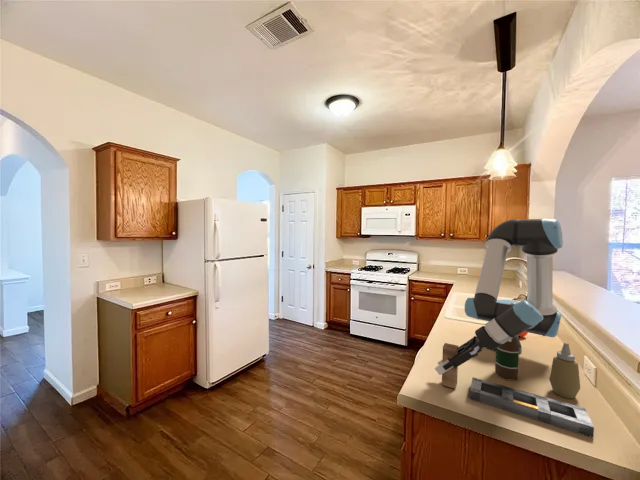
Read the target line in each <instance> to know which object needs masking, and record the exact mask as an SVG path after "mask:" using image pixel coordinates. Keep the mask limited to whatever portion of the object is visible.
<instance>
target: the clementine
mask: <svg viewBox="0 0 640 480" xmlns="http://www.w3.org/2000/svg"><path fill="white" fill-rule="evenodd" d="M528 333H529V332H522V333H521V334H519V335H518V337H519V336H520V338H524V337H526V336H527V335H528Z"/></svg>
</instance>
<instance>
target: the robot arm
mask: <svg viewBox="0 0 640 480" xmlns="http://www.w3.org/2000/svg"><path fill="white" fill-rule="evenodd" d="M561 227H562V226H561V223H560V222H559V220H557V219H556V218H555V219H554V218H553V219H552V218H527V219H526V218H525V219H522V218H521V219H518V218H512V219H509V220H505V221H503V222H501V223H500V224H498V225H497V226H496V227H494V228H493V229H492V230H491V231H490V232H489V234H488V236H487V238H486V240H485V244H484V246H485V248H486V251H485V255H484V258H483V263H482V266H481V270H480V274H479V277H478V281H477V284H476V289H475V293H474V297H467V299H466V300H465V302H464V313H465V315H466V317H469V318H473V319H476V320H481V321H484V322H485V321H487V322H486V323H485V324H484V325H482V326H480V327H479V328H477V329H475V331H474V334H475V335H474V336H473V337H471V339H469V340H467V341H465V342H464V343H463V344H461V345H459V346H458V354H457V355H455V356H454V357H453V358H451V359H449V357H448V358H447V359H448V360H446V361H445V362H443V363H442V359H440V360H439V361H437V366H435V367H434V370H435V371H436V373H437V374H438V375H439V376H442V374H443V373H444V372H446V371H448V370H449V369H451V368H453V367H454V368H457V367H458V368H459V367H460V366H462V365H463V364H465V363H466V362H468V361H470V360H471V359H473V358H474V357H475V358H476V357H478V355H479V353H481V352H482V351H483V348H486V349H487V350H488V351H490V352H491V351H495V352H496V348H498V347H499V346H500V344H504V343H505V342H507V341H509V342H511V341H512V340H511V339H512V338H514V337H515V338H516V339H517V341H518V344H519V355H520V354H522V351H523V349H522V344H521V340H520V338H519V336H518V335H519V334H521V333H522V332H528V333H530V334H535V335H539V336H542V337H548V338H555V337H557V335H558V333H559V328H560V323H561V319H562V312H561V311H559V310H558V309H557V306H556V305H555V304H553V281H554V280H553V276H554V275H553V271H554V268H553V266H554V265H553V263H554V261H553V259H554V257H553V256H554V255H555V254H557V253H558V251H559V249H562V248H563V243H564V242H563V231H562V228H561ZM512 247H518V248H519V247H520V248H521V252H522V253H523V254H525V255H526V286H527V287H526V292H527V299H523V300H520V301H517V300H511V299H498V298H499V292H500V288H501V283H502V280H503V275H504V270H505V265H506V262H507V261H506V260H507V257H508V253H509V252H511V250H512V249H513V248H512Z"/></svg>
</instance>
